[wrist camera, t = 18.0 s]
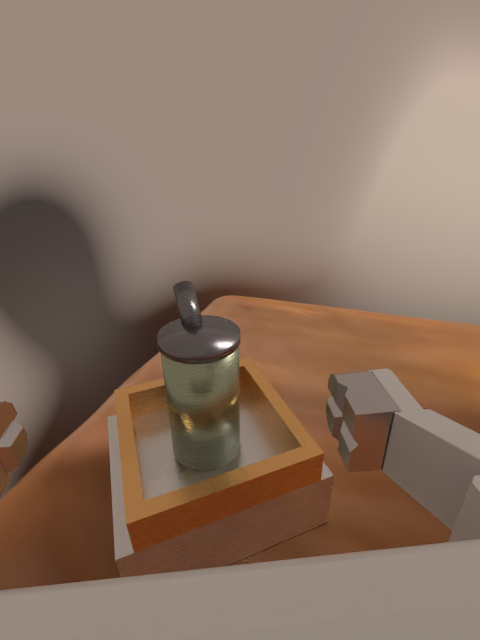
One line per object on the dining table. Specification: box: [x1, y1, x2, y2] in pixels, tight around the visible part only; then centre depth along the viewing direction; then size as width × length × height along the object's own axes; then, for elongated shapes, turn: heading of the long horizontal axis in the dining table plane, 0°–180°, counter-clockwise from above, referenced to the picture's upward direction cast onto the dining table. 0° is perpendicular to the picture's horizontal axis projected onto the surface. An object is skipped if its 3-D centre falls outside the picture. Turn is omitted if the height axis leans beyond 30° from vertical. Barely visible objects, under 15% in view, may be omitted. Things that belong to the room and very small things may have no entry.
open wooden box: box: [108, 358, 334, 577], centre depth 27 cm, size 14×15×8 cm
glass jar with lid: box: [157, 281, 240, 471], centre depth 24 cm, size 5×7×12 cm
